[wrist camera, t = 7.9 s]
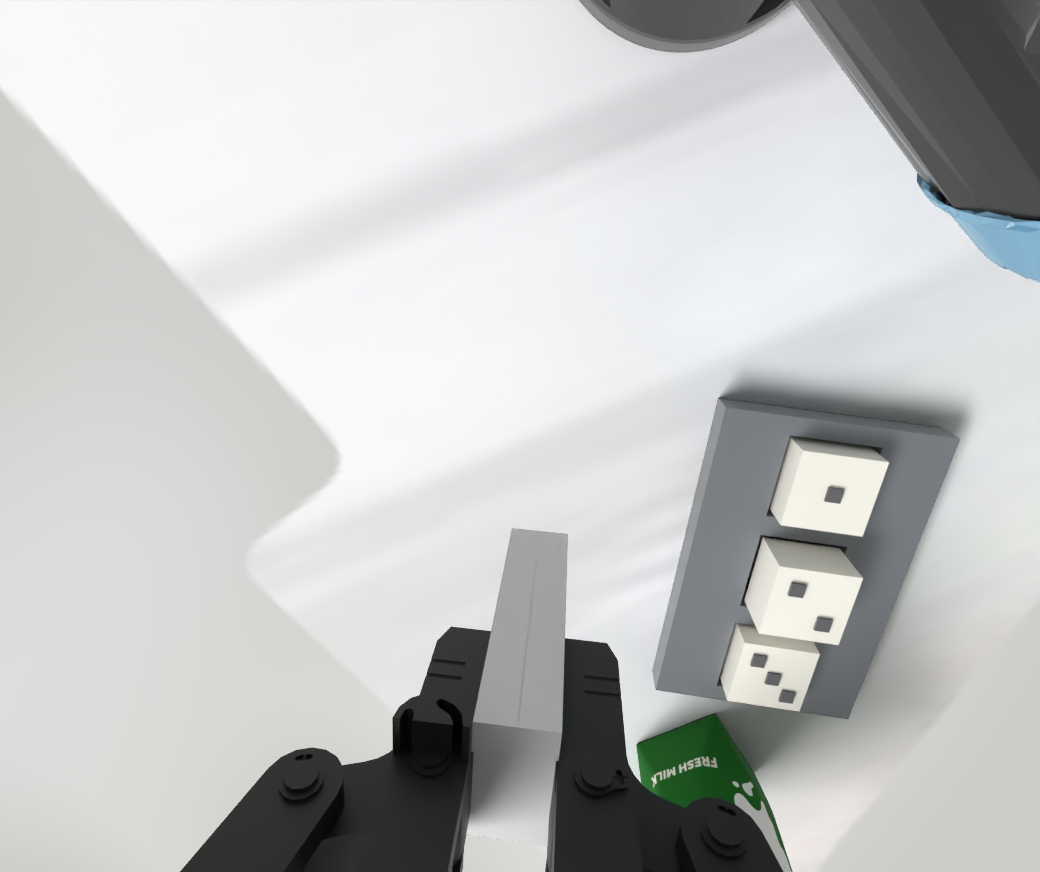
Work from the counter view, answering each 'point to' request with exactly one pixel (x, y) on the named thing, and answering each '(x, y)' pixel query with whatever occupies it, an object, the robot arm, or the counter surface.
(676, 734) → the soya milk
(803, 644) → the key three
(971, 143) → the robot arm
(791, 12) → the counter surface
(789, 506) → the key one
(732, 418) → the keypad board
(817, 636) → the key two
